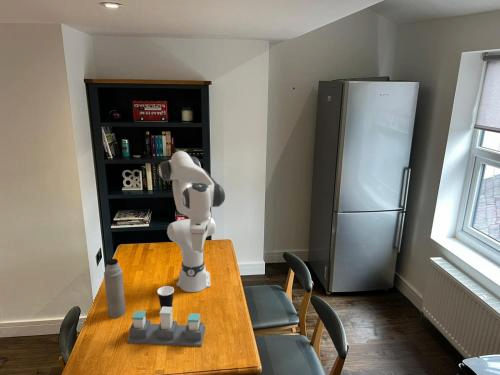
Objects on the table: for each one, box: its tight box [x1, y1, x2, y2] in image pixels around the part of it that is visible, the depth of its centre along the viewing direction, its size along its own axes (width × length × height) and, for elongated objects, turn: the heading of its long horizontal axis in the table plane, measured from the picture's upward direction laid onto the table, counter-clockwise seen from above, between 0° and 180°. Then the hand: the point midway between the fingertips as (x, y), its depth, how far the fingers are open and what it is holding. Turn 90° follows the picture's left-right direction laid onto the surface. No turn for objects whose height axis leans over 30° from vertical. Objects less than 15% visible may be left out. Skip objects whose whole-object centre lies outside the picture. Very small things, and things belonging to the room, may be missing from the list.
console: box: [126, 319, 207, 347], centre depth 161 cm, size 12×32×5 cm, turn 88°
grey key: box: [159, 306, 174, 330], centre depth 159 cm, size 5×5×9 cm
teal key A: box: [131, 310, 147, 328], centre depth 161 cm, size 5×5×9 cm
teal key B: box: [187, 312, 201, 331], centre depth 160 cm, size 5×5×9 cm
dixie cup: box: [156, 285, 175, 310], centre depth 178 cm, size 8×8×11 cm
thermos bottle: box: [103, 258, 127, 319], centre depth 172 cm, size 8×8×28 cm
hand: (201, 251), depth 159 cm, fingers closed
